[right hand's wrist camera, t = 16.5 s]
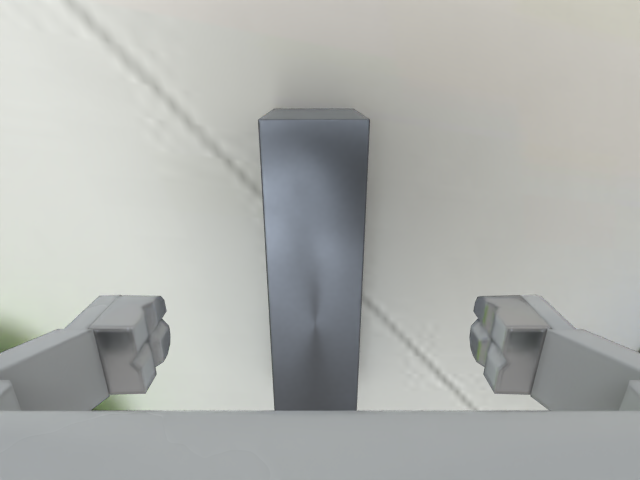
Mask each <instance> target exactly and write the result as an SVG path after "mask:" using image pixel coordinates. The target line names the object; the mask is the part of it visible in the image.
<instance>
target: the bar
mask: <svg viewBox="0 0 640 480" xmlns="http://www.w3.org/2000/svg"><path fill="white" fill-rule="evenodd" d="M258 126H259V144H260V162H261V179H262V197H263V215H264V232H265V250H266V268H267V285H268V303H269V321H270V339H271V356H272V374H273V392H274V409H275V411H357V390H358V369H359V347H360V325H361V303H362V282H363V260H364V238H365V216H366V195H367V173H368V151H369V129H370V119H368V118H367V117H365V116H364V115H362V114H361V113H359V112H358V111H356V110H355V109H273V110H272V111H270V112H269V113H267V114H266V115H264V116H263V117H261V118H260V119H259V120H258Z"/></svg>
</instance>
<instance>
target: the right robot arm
mask: <svg viewBox="0 0 640 480" xmlns="http://www.w3.org/2000/svg"><path fill="white" fill-rule="evenodd" d="M165 313H166V306H165V301H164V299H163V298H162V297H161V296H138V295H102V296H99V297H98V298H96V299H95V300H94V301H93V302H92V303H91V304H90V305H89V306H88V307H87V308H86V309H85V310H84V311H83V312H82V313H81V314H79V315H78V316H77V317H76V318H75V319H74V320H73V321H72V322H71V323H70V324H69V325H68V326H67V327H66V328H65V329H57V330H54V331H52V332H49V333H47V334H45V335H42V336H40V337H37V338H35V339H32V340H30V341H28V342H25V343H23V344H20V345H18V346H16V347H13V348H11V349H8V350H6V351H3V352H1V353H0V480H640V353H639V352H636V351H634V350H632V349H629V348H627V347H624V346H622V345H620V344H617V343H615V342H612V341H610V340H607V339H605V338H603V337H600V336H598V335H595V334H593V333H591V332H588V331H586V330H583V329H575V328H574V327H573V326H572V325H571V324H570V323H569V322H568V321H567V320H566V319H565V318H564V317H563V316H562V315H561V314H560V313H558V312H557V311H556V310H555V309H554V308H553V307H552V306H551V305H550V304H549V303H548V302H547V301H546V300H545V299H544V298H543V297H542V296H539V295H508V296H480V297H477V299H476V302H475V306H474V313H475V314H476V316H477V317H478V319H477V320H476V321H475V322H474V323H473V324H472V325H471V330H470V347H471V351H472V354H473V356H474V358H475V360H476V362H477V363H479V364H480V365H482V366H484V367H485V368H484V376H485V378H486V380H487V381H488V383H489V385H490V386H491V388H492V390H493V392H494V393H495V394H528V395H531V397H532V398H534V399H535V400H536V401H538V402H539V403H540V404H542V405H543V406H544V407H546V408H547V409H548V410H550V411H91V410H92V409H93V408H95V407H96V406H97V405H99V404H100V403H101V402H103V401H104V400H105V399H106V398H108V397H109V395H112V394H146V392H147V390H148V388H149V387H150V385H151V383H152V381H153V380H154V378H155V376H156V368H155V367H156V366H158V365H160V364H161V363H163V362H164V360H165V358H166V356H167V354H168V350H169V346H170V329H169V325H168V324H167V323H166V322H165V321H164V320H163V319H162V317H163V316H164V314H165Z"/></svg>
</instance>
